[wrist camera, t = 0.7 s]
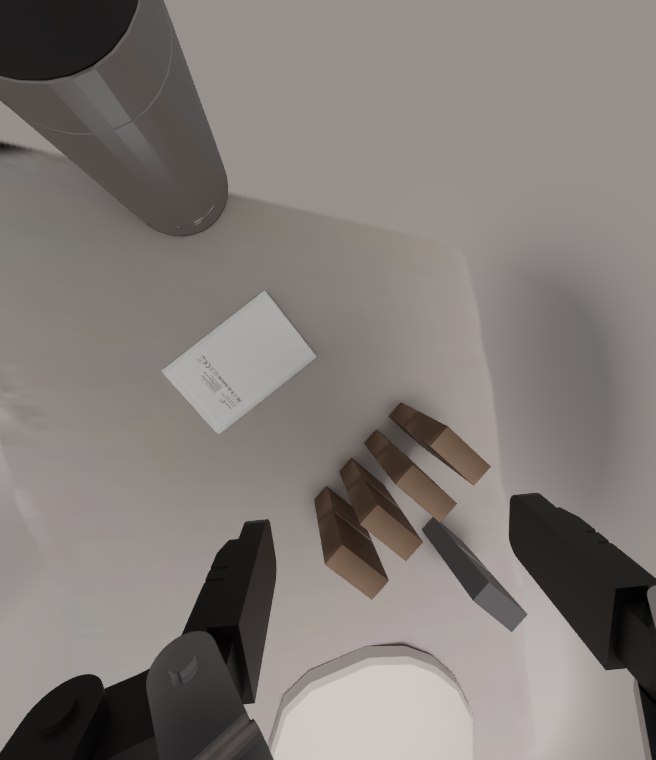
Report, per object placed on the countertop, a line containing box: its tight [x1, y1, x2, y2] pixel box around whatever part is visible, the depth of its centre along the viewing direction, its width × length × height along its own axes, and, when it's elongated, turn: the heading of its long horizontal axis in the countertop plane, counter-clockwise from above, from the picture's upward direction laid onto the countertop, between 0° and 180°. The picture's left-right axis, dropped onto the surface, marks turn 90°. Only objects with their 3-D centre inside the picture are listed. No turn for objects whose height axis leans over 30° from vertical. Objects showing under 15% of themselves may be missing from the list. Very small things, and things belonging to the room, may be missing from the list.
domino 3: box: [339, 458, 423, 561], centre depth 29 cm, size 2×5×10 cm, turn 48°
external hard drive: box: [162, 290, 317, 434], centre depth 31 cm, size 2×8×12 cm
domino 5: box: [422, 517, 527, 632], centre depth 31 cm, size 2×5×10 cm, turn 48°
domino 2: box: [364, 430, 457, 522], centre depth 29 cm, size 2×5×10 cm, turn 48°
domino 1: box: [389, 403, 491, 485], centre depth 29 cm, size 2×5×10 cm, turn 48°
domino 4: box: [314, 486, 389, 599], centre depth 29 cm, size 2×5×10 cm, turn 48°
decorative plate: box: [269, 646, 473, 760], centre depth 36 cm, size 25×4×25 cm
